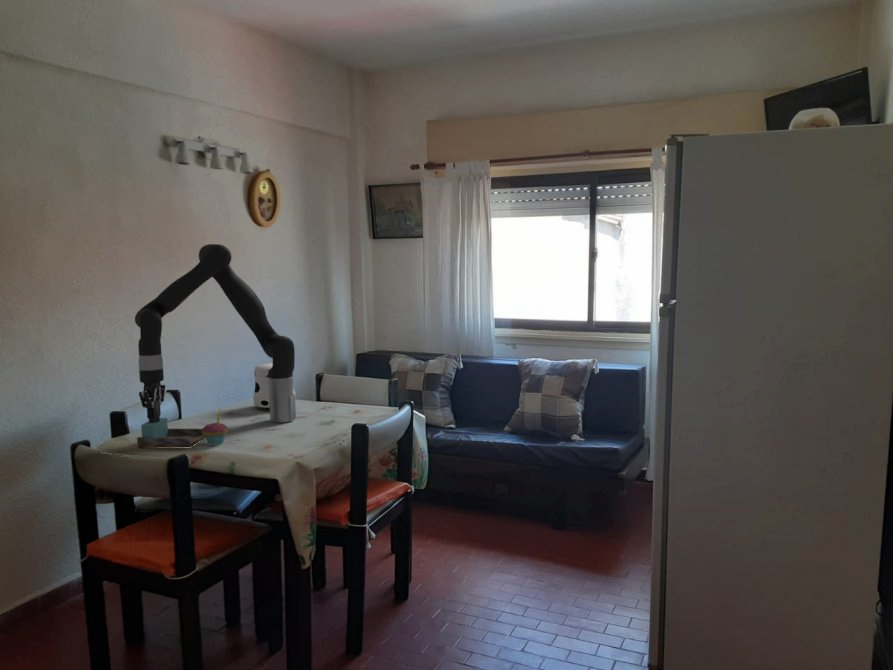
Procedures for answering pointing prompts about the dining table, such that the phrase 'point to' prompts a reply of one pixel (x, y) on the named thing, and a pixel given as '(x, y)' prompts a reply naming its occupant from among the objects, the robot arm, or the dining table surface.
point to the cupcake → (215, 432)
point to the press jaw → (155, 425)
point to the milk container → (262, 386)
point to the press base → (173, 439)
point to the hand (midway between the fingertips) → (154, 416)
